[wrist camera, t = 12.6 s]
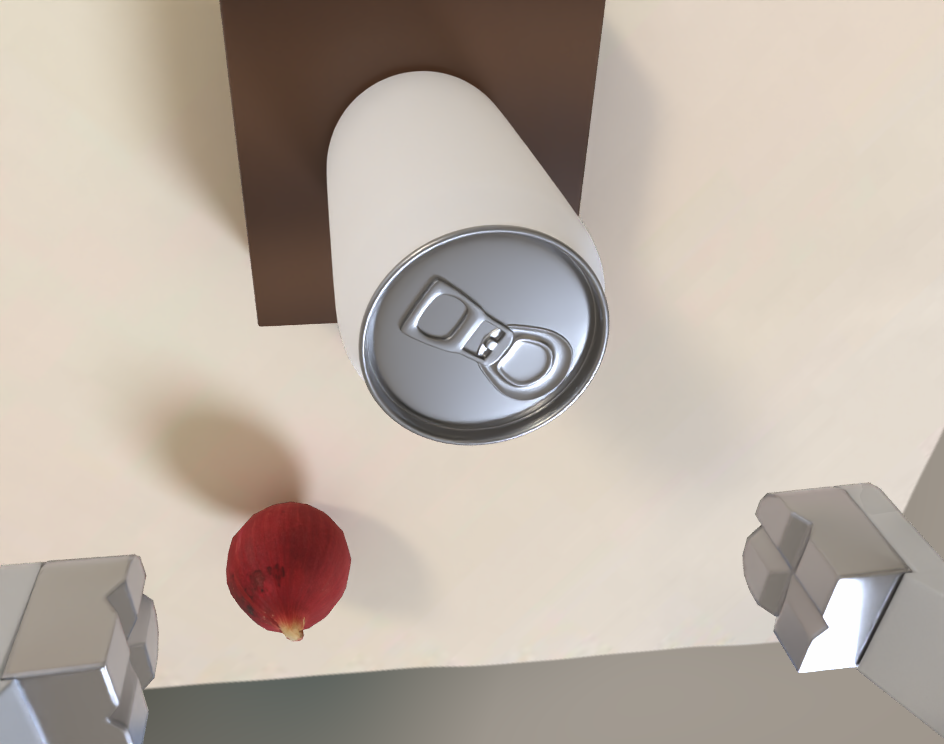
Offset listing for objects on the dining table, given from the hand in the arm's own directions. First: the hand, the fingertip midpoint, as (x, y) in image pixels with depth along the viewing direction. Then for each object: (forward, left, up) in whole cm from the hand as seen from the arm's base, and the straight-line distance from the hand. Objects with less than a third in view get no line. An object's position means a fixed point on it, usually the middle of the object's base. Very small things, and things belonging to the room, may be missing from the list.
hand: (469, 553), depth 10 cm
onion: (+21, -4, -25) cm, 33 cm away
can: (+1, +2, -19) cm, 20 cm away
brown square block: (+1, +2, -24) cm, 24 cm away
